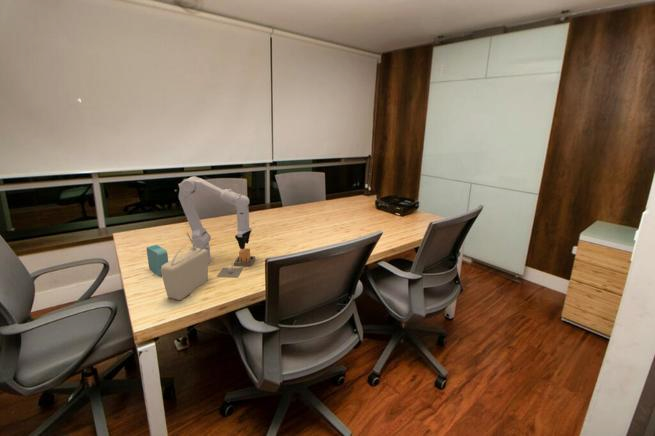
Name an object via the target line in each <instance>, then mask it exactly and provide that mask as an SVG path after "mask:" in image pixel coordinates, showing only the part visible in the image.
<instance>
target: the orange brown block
mask: <svg viewBox="0 0 655 436" xmlns="http://www.w3.org/2000/svg"><path fill="white" fill-rule="evenodd" d="M238 256H239V261H238V262H244V263H251V260H250V256H251V248H244V249H240V250H239V251H238Z"/></svg>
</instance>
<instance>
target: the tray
mask: <svg viewBox="0 0 655 436" xmlns="http://www.w3.org/2000/svg"><path fill="white" fill-rule="evenodd" d="M255 261H256V256H254V255H253V256H251V255H250V263H247V262H246V263H244V262H239V255H238V256H237V258H236V259H235V260H234V261H233V266H234V267H253V265H254V263H255Z"/></svg>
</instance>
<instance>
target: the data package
mask: <svg viewBox="0 0 655 436" xmlns="http://www.w3.org/2000/svg"><path fill="white" fill-rule="evenodd" d="M146 255H147V263H148V268H149V270H150V271H151V272H152V273H154V274H156V275H157V276H158V277H162V274H161V266H162V265H164V264H165V263H167V262H169V257H168V251H167V250H166V249H165V248H163V247H162V246H160V245H158V244H155V245H150V246H147V247H146Z"/></svg>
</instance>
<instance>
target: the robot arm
mask: <svg viewBox="0 0 655 436" xmlns="http://www.w3.org/2000/svg"><path fill="white" fill-rule="evenodd" d="M178 187H179V191H178V200H179V202H180V205H181V206H182V207H181V208H182V210H183V213H184V215H185V217H186V219H187V222H188V225H189V227H190V230H191V236H190V238H191V239H192V241H193V243H195V244H194V245H195V246H196V248H199V249H201V248H200V247H199V246H198V245H200V246H201V247H202V248H203V249H206V250H207V251H208V265H209V264H210V263H211V262H212V257H211V246H210V245H211V244H210V243H209V242H210V241H211V238H212V237H211V235H210V233H209V232H208V231H207V229H206V228H205V227H203V224H202V222H201V219H200V217H199V214H198V211H197V209H196V206H195V203H194V201H193V198H192V197H193V195H194V193H195V192H198V191H206V192H208V193H211V194H214V195H216V196H219V198H220V199H221V200H222V201H223V202H227V203H228V204H230V205H233V206H235V207H236V225H237V229H236V230H237V234H235V235H234V238H235V239H236V242H237V243H238V247H239V249H240V250H241V249H246V244H249V242H250V236H251V233H252V231H253V229H252V227H250V210H249V205H250V198H249V197H248V196H247V195H246V194H242V193H237V192H235V191H233V190H232V188H229V189H228V188H224V189H222V188H221V187H218V186H216V185H215V184H212V183H210V182H209V181H207V180H205V179H203V178H201V177H198V176H195V175H194V176H190V177H189V178H184V179H183V180H182V181H181V182H180V184H179V185H178ZM196 244H198V245H196ZM191 245H192V246H191V247H190V248H189V251H190V250H192V247H193V244H191Z"/></svg>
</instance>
